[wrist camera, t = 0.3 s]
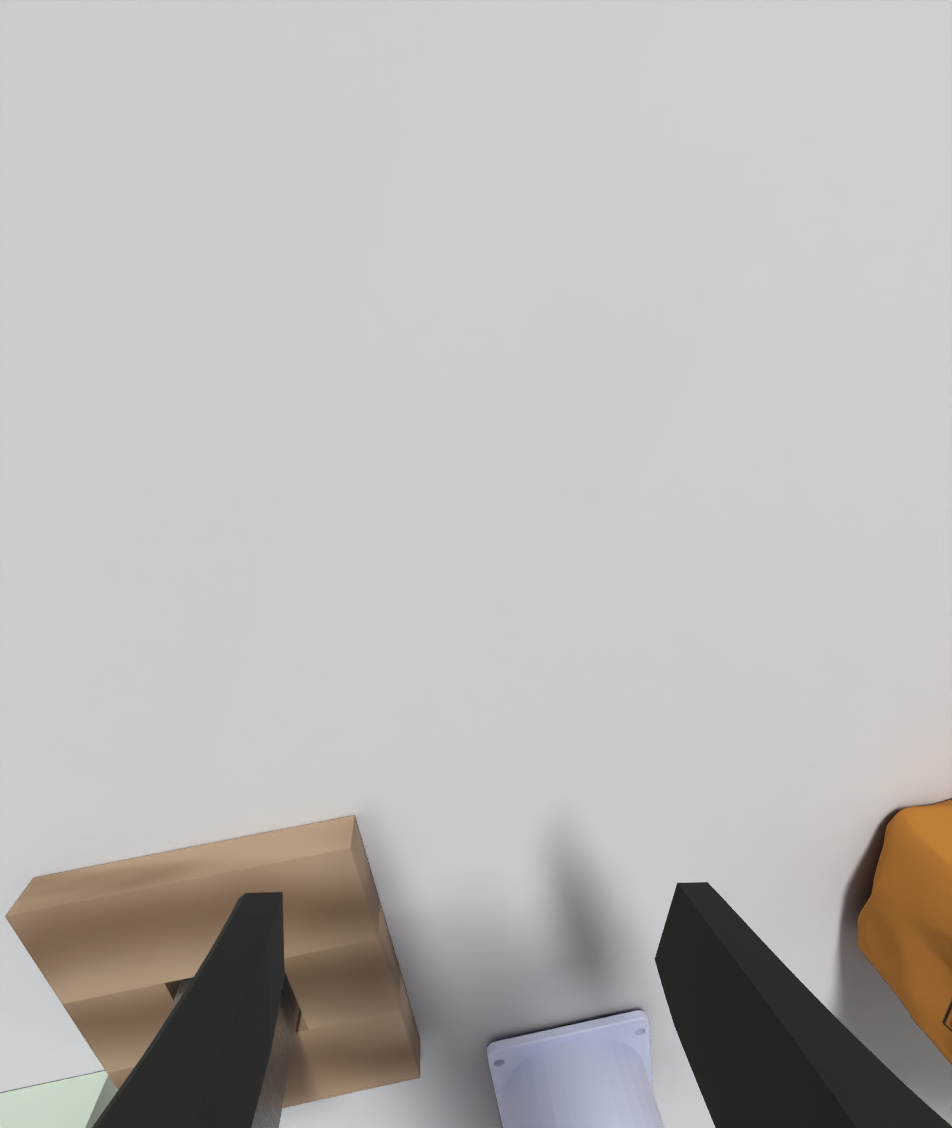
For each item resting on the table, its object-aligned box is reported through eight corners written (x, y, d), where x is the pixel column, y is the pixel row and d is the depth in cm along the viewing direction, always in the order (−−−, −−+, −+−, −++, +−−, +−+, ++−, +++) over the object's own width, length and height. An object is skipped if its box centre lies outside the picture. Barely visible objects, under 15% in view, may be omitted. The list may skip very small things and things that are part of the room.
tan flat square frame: (419, 1038, 26) (419, 1077, 24) (163, 1094, 25) (149, 1137, 24) (354, 815, 21) (350, 847, 19) (33, 877, 20) (5, 916, 19)
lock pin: (303, 985, 24) (261, 1221, 17) (220, 1003, 23) (146, 1248, 17) (281, 929, 22) (227, 1161, 16) (193, 947, 22) (101, 1189, 16)
